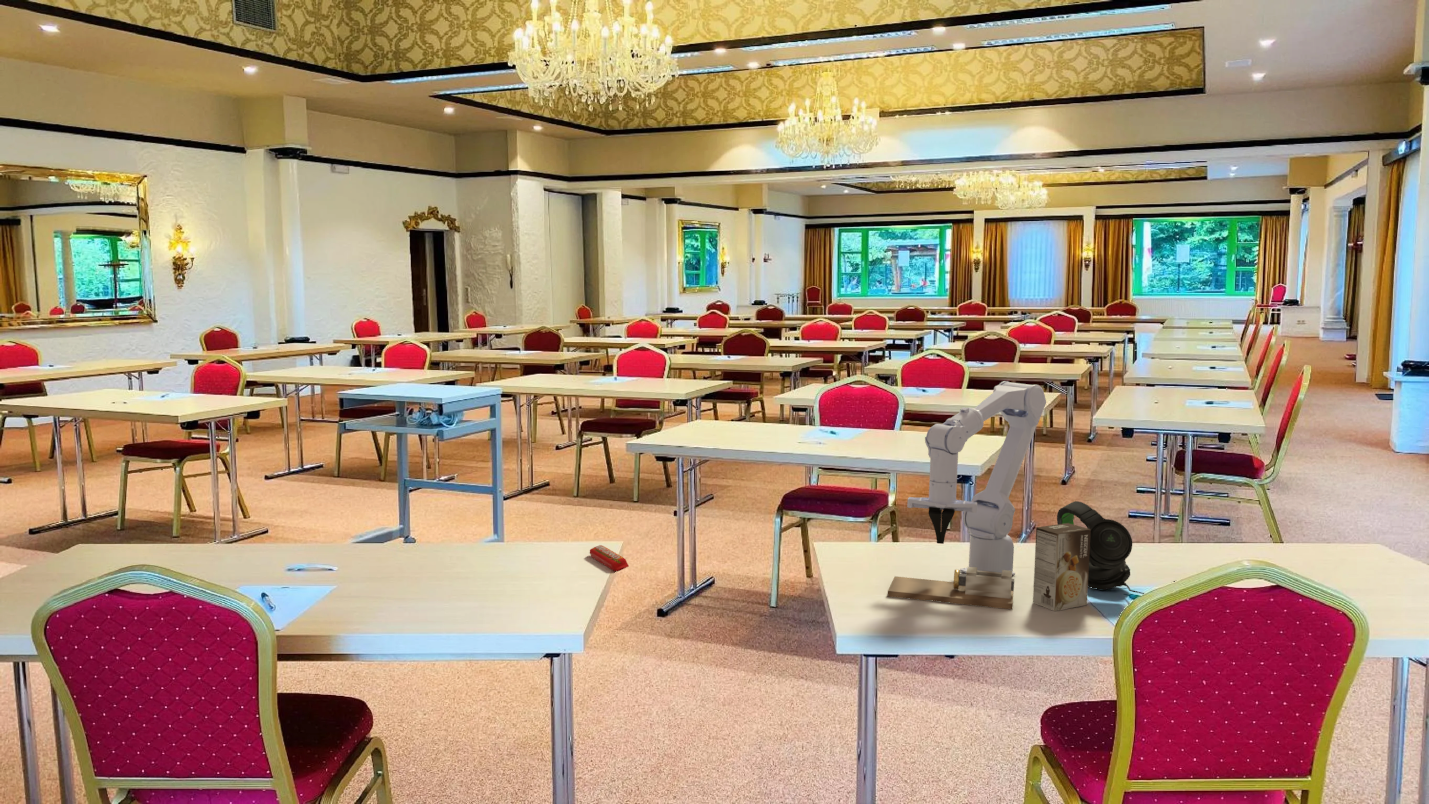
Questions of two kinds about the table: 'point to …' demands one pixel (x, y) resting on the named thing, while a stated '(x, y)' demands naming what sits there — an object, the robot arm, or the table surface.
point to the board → (977, 592)
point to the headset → (1102, 546)
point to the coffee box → (1061, 566)
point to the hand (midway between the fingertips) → (940, 542)
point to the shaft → (961, 580)
